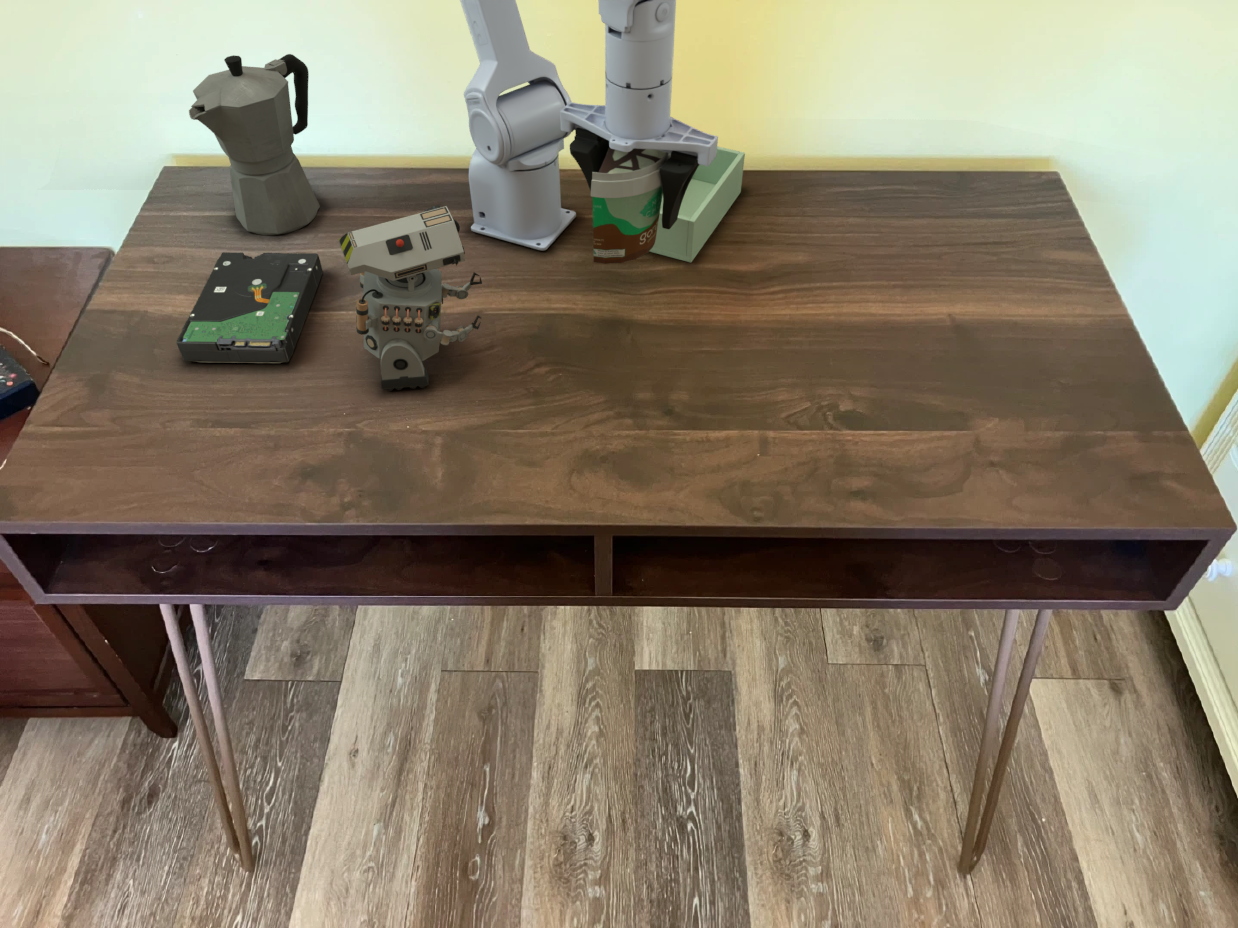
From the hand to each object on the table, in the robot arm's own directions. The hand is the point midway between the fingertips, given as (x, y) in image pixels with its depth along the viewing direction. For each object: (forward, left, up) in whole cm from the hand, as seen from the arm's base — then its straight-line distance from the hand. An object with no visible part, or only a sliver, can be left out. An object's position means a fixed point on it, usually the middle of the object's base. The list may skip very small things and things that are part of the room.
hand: (635, 214), depth 89 cm
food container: (0, 0, -3) cm, 3 cm away
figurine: (-14, -17, -10) cm, 24 cm away
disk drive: (-33, -19, -10) cm, 39 cm away
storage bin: (-2, +16, -10) cm, 19 cm away
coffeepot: (-43, -2, -10) cm, 44 cm away
